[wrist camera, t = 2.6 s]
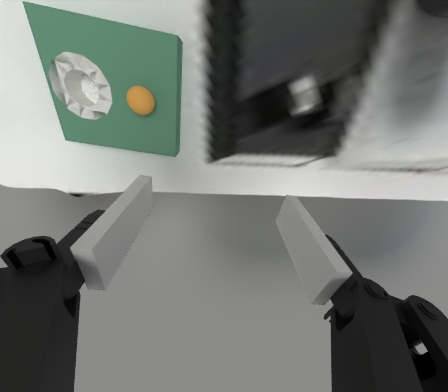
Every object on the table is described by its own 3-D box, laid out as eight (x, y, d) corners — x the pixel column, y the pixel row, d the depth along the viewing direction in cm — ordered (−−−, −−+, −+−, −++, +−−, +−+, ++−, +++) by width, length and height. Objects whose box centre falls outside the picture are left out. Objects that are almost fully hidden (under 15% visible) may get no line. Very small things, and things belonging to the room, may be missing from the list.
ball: (132, 83, 27) (119, 82, 24) (157, 88, 28) (148, 88, 24) (134, 111, 29) (123, 113, 26) (158, 115, 30) (150, 118, 26)
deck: (48, 13, 26) (22, 0, 22) (182, 42, 28) (177, 35, 24) (80, 135, 35) (65, 140, 31) (179, 150, 37) (175, 156, 33)
